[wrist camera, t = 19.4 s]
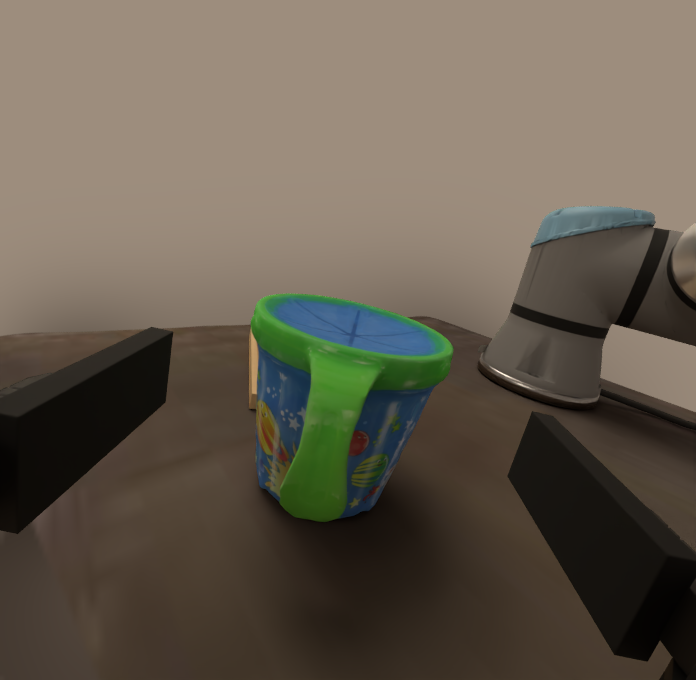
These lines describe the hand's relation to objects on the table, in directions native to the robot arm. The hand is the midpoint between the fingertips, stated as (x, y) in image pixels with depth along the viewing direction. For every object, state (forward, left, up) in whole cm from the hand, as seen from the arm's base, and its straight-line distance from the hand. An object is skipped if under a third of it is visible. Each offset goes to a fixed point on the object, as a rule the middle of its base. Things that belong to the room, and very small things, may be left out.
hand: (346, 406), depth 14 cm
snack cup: (-2, -7, -9) cm, 12 cm away
